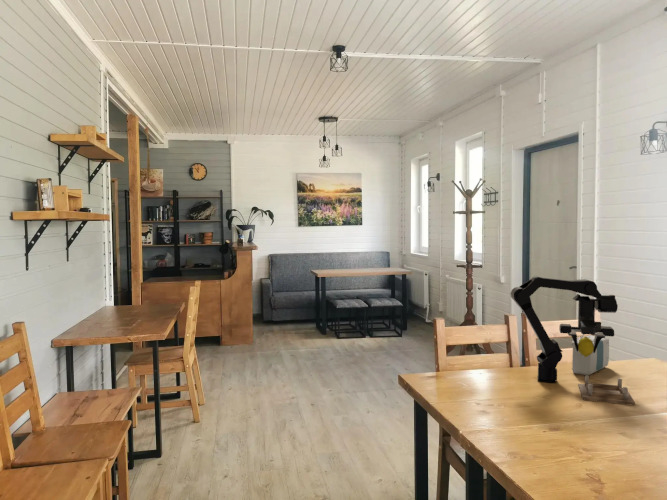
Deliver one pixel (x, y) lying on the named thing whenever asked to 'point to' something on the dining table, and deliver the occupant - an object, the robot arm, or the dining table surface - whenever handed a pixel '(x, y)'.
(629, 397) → the cradle tray
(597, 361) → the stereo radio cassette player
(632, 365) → the dining table surface
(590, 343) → the lemon
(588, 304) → the robot arm
